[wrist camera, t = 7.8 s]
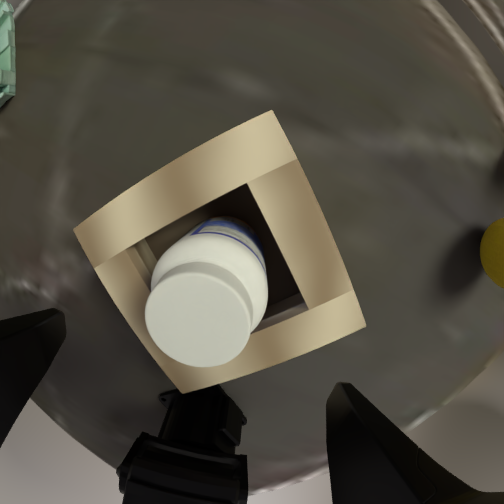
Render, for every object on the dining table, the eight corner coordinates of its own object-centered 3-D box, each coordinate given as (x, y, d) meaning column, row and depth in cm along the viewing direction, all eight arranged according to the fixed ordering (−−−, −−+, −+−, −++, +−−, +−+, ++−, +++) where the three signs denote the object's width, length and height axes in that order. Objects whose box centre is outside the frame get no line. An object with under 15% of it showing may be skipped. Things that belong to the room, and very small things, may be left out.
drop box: (199, 343, 22) (182, 393, 16) (120, 211, 19) (73, 229, 13) (341, 283, 20) (366, 326, 14) (269, 127, 17) (271, 109, 12)
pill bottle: (212, 304, 20) (183, 399, 11) (169, 240, 19) (100, 299, 10) (279, 267, 19) (298, 350, 10) (237, 198, 18) (217, 223, 9)
